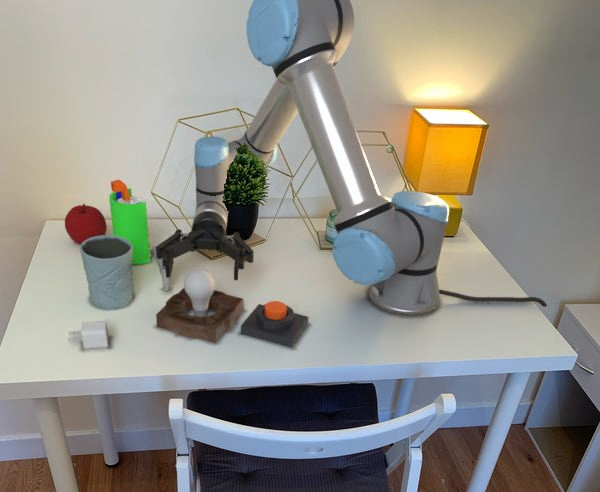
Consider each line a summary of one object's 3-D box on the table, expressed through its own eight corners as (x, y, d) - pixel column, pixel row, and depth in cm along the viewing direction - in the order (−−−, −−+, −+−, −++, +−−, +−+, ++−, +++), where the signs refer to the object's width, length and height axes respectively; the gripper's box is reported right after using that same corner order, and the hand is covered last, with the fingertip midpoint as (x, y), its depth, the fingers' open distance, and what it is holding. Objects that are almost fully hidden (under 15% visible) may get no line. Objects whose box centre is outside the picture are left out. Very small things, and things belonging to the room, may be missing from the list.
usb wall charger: (108, 348, 125) (105, 331, 122) (69, 351, 123) (66, 333, 121) (108, 336, 128) (105, 319, 125) (71, 339, 126) (67, 321, 124)
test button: (289, 311, 132) (290, 304, 131) (281, 322, 129) (282, 314, 128) (269, 306, 133) (269, 298, 132) (260, 317, 130) (261, 309, 129)
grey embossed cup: (92, 285, 142) (84, 233, 134) (140, 286, 143) (135, 235, 135) (84, 311, 134) (75, 257, 126) (135, 311, 135) (128, 258, 127)
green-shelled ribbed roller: (160, 257, 153) (154, 182, 141) (131, 268, 148) (122, 191, 137) (136, 243, 157) (128, 169, 146) (107, 253, 153) (97, 177, 141)
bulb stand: (246, 310, 138) (247, 298, 136) (217, 345, 128) (216, 332, 126) (186, 294, 141) (186, 282, 139) (153, 327, 131) (152, 315, 129)
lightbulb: (221, 315, 136) (220, 268, 129) (206, 330, 131) (204, 281, 124) (196, 307, 137) (193, 260, 130) (180, 321, 133) (176, 273, 126)
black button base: (307, 324, 135) (309, 308, 133) (292, 347, 129) (293, 330, 126) (258, 312, 138) (259, 295, 135) (240, 334, 131) (240, 317, 129)
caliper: (169, 292, 140) (166, 264, 137) (165, 292, 140) (162, 264, 137) (158, 264, 157) (155, 239, 155) (153, 264, 157) (151, 239, 154)
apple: (111, 234, 160) (106, 194, 154) (105, 251, 154) (99, 211, 147) (72, 232, 160) (66, 193, 153) (64, 250, 153) (56, 209, 146)
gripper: (264, 243, 151) (263, 291, 135) (154, 239, 150) (140, 286, 133) (265, 212, 146) (264, 258, 130) (152, 207, 145) (136, 253, 129)
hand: (201, 273), depth 132 cm, fingers open, 13 cm apart
